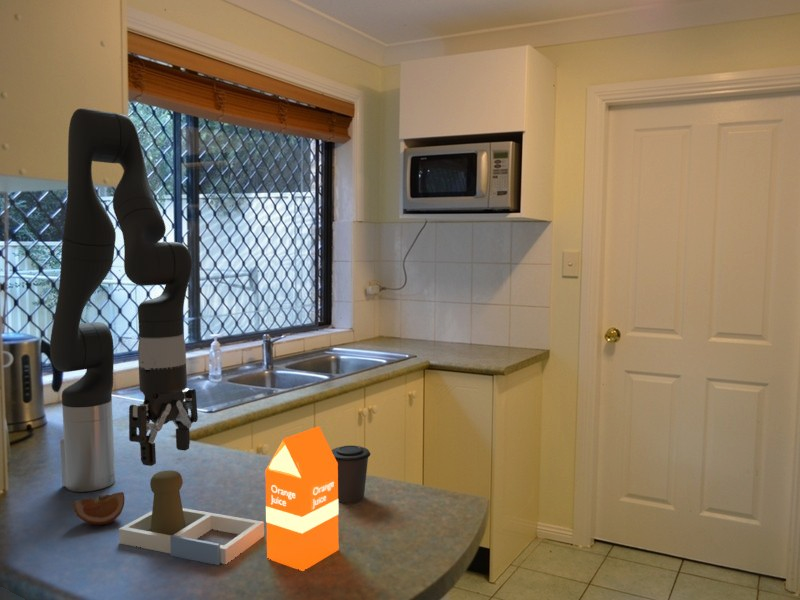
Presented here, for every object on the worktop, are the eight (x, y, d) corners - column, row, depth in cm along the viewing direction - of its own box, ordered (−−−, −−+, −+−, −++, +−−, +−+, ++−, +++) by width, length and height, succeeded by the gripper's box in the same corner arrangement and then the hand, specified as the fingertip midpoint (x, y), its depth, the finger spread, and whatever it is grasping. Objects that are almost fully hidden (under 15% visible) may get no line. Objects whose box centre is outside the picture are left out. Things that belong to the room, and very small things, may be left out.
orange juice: (266, 558, 110) (263, 435, 108) (303, 538, 117) (301, 422, 115) (303, 571, 106) (301, 443, 104) (339, 549, 113) (338, 429, 111)
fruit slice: (75, 534, 119) (73, 506, 118) (73, 520, 125) (71, 493, 124) (127, 524, 123) (126, 497, 122) (122, 511, 129) (121, 485, 128)
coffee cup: (378, 495, 136) (378, 445, 135) (355, 509, 129) (355, 457, 128) (344, 488, 140) (344, 439, 139) (320, 501, 133) (319, 450, 132)
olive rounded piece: (174, 524, 123) (171, 464, 122) (194, 534, 119) (192, 471, 118) (142, 536, 118) (140, 473, 117) (162, 546, 114) (159, 481, 113)
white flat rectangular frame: (116, 544, 115) (115, 526, 114) (163, 518, 125) (163, 500, 125) (223, 566, 107) (223, 546, 107) (264, 535, 118) (263, 517, 118)
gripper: (172, 354, 124) (175, 443, 125) (113, 368, 110) (117, 467, 112) (207, 356, 121) (210, 447, 122) (151, 371, 108) (155, 473, 109)
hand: (166, 457), depth 117 cm, fingers open, 8 cm apart
